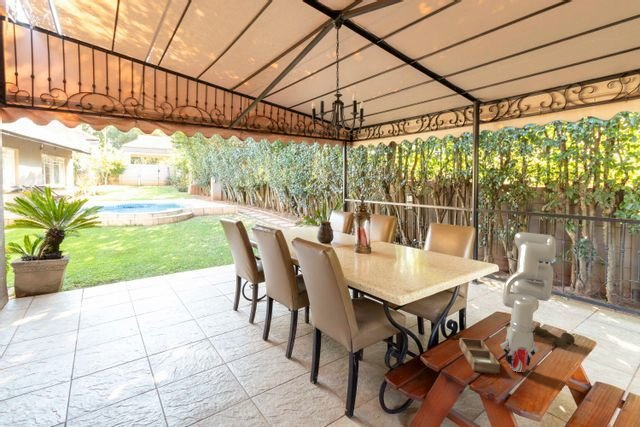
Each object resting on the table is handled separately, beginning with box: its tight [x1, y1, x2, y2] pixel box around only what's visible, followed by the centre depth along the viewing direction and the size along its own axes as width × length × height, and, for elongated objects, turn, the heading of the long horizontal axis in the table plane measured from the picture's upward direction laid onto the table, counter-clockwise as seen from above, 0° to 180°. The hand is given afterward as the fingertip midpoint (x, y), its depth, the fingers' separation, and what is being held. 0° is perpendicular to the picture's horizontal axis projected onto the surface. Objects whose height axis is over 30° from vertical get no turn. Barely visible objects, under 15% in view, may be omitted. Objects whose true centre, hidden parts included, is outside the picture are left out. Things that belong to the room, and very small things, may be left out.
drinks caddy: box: [458, 337, 501, 374], centre depth 149 cm, size 21×11×4 cm, turn 173°
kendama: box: [533, 325, 579, 349], centre depth 165 cm, size 6×10×20 cm
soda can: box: [508, 348, 528, 373], centre depth 141 cm, size 7×7×12 cm
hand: (517, 362), depth 141 cm, fingers closed on soda can, 7 cm apart
